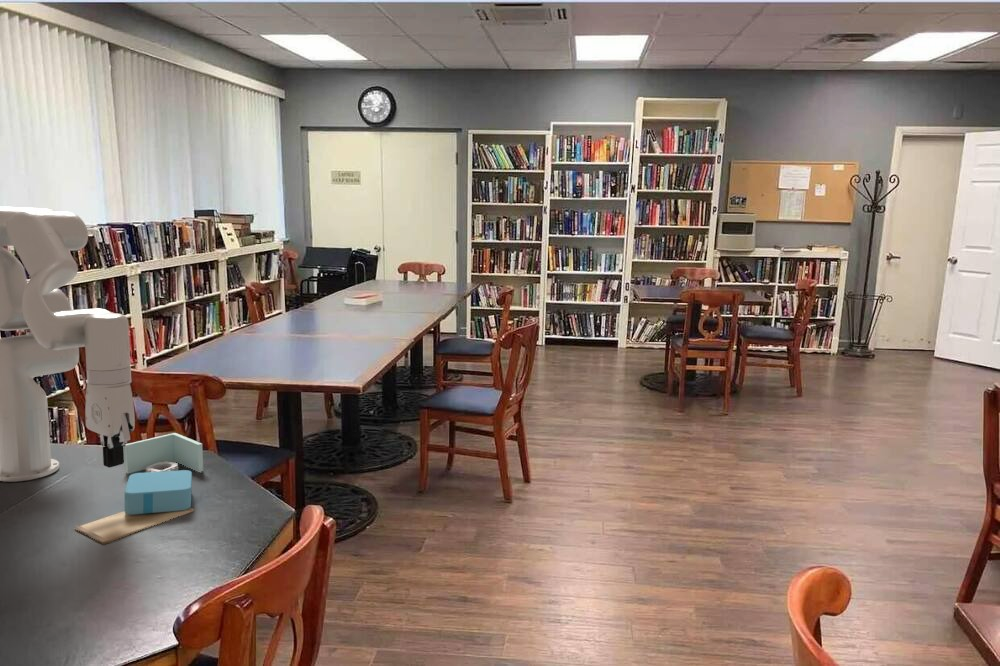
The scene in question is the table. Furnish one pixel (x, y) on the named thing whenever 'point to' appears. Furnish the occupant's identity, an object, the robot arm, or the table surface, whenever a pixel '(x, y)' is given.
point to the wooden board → (125, 524)
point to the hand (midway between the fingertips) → (113, 464)
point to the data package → (158, 492)
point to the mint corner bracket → (163, 454)
